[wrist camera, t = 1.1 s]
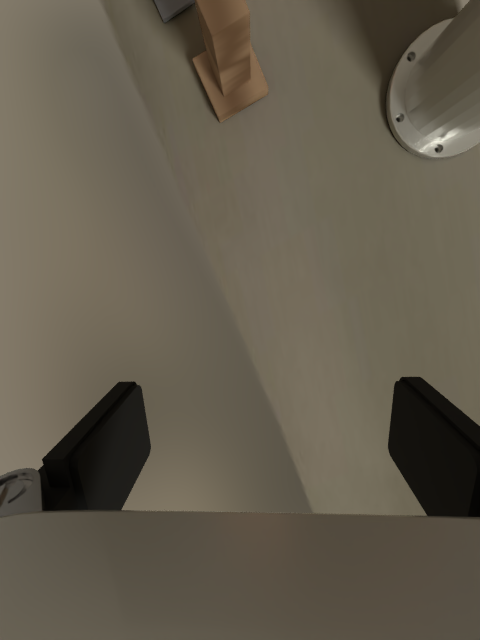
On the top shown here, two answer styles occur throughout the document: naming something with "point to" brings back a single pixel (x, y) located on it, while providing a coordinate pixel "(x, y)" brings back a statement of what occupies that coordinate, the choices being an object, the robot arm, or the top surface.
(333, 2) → the top surface
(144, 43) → the top surface
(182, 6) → the mat
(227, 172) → the top surface
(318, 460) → the top surface
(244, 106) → the wooden block
